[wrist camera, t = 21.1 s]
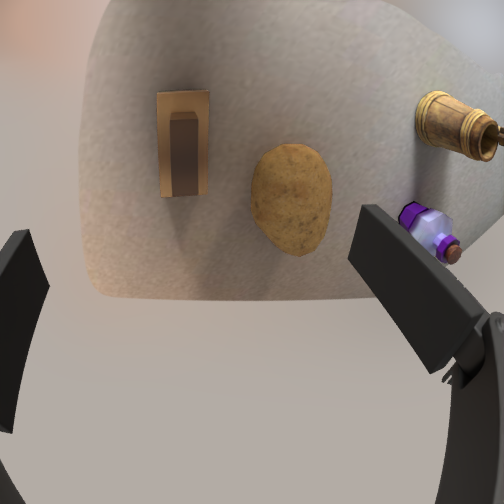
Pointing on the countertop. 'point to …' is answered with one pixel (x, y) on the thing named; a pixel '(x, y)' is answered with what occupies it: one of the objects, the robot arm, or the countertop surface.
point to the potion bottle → (431, 231)
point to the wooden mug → (457, 127)
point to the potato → (292, 198)
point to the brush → (183, 142)
